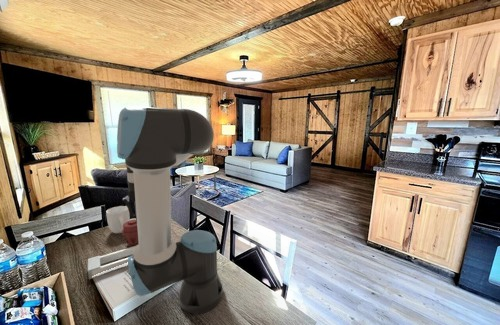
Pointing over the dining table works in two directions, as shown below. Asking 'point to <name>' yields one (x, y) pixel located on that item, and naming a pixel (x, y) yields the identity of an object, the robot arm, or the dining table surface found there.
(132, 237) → the mechanical component
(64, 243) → the dining table surface
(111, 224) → the mug
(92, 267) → the white slotted console
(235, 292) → the dining table surface
